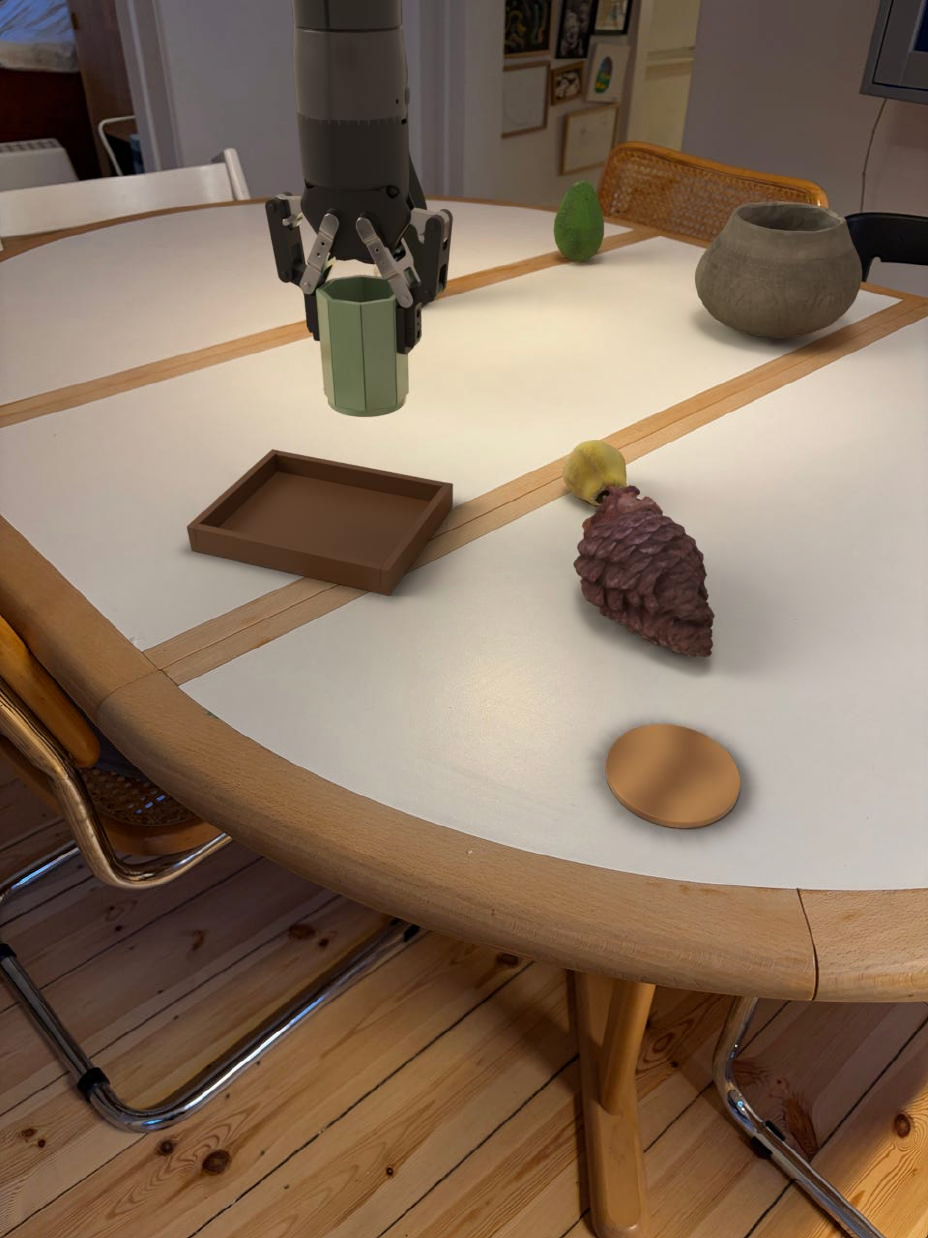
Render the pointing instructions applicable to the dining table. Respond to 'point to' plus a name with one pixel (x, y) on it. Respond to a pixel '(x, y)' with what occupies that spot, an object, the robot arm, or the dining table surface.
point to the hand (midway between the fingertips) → (364, 343)
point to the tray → (324, 520)
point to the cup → (361, 346)
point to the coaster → (672, 775)
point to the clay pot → (780, 270)
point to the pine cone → (646, 573)
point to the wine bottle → (411, 234)
